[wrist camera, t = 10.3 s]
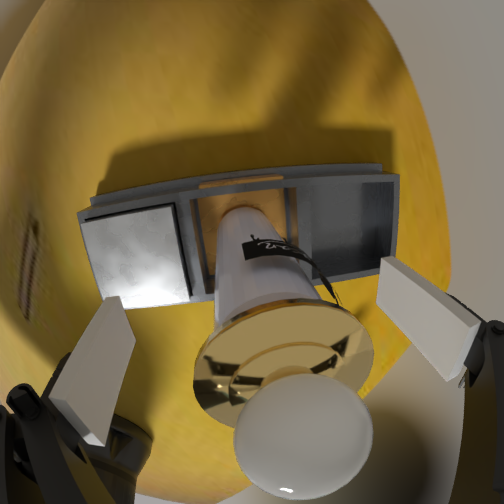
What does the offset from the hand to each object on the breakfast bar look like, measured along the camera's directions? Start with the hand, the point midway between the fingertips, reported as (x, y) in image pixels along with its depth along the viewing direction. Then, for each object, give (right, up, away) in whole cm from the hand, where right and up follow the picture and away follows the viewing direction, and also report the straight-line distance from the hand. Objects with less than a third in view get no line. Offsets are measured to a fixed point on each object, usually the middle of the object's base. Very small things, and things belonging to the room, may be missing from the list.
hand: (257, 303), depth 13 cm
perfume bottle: (-1, +4, +10) cm, 11 cm away
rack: (-1, +5, +11) cm, 12 cm away
